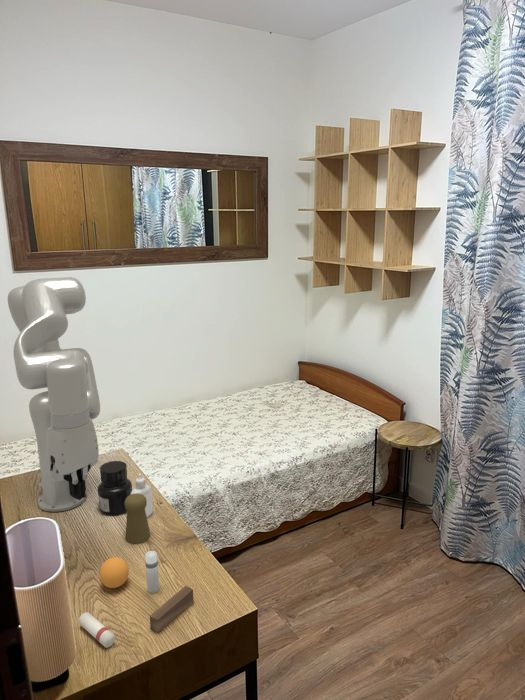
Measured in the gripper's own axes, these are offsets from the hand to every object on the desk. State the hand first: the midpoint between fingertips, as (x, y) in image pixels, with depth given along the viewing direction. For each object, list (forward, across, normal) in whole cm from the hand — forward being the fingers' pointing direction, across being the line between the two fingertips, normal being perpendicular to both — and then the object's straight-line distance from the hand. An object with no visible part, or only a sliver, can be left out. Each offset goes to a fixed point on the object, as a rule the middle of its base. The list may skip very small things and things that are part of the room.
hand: (78, 496), depth 113 cm
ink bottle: (+17, -20, -13) cm, 30 cm away
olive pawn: (+17, -14, +2) cm, 22 cm away
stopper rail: (+17, 0, +27) cm, 32 cm away
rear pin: (+17, -3, +18) cm, 25 cm away
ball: (+14, +1, +11) cm, 18 cm away
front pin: (+16, +11, +15) cm, 24 cm away
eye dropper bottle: (+17, -21, -4) cm, 28 cm away
